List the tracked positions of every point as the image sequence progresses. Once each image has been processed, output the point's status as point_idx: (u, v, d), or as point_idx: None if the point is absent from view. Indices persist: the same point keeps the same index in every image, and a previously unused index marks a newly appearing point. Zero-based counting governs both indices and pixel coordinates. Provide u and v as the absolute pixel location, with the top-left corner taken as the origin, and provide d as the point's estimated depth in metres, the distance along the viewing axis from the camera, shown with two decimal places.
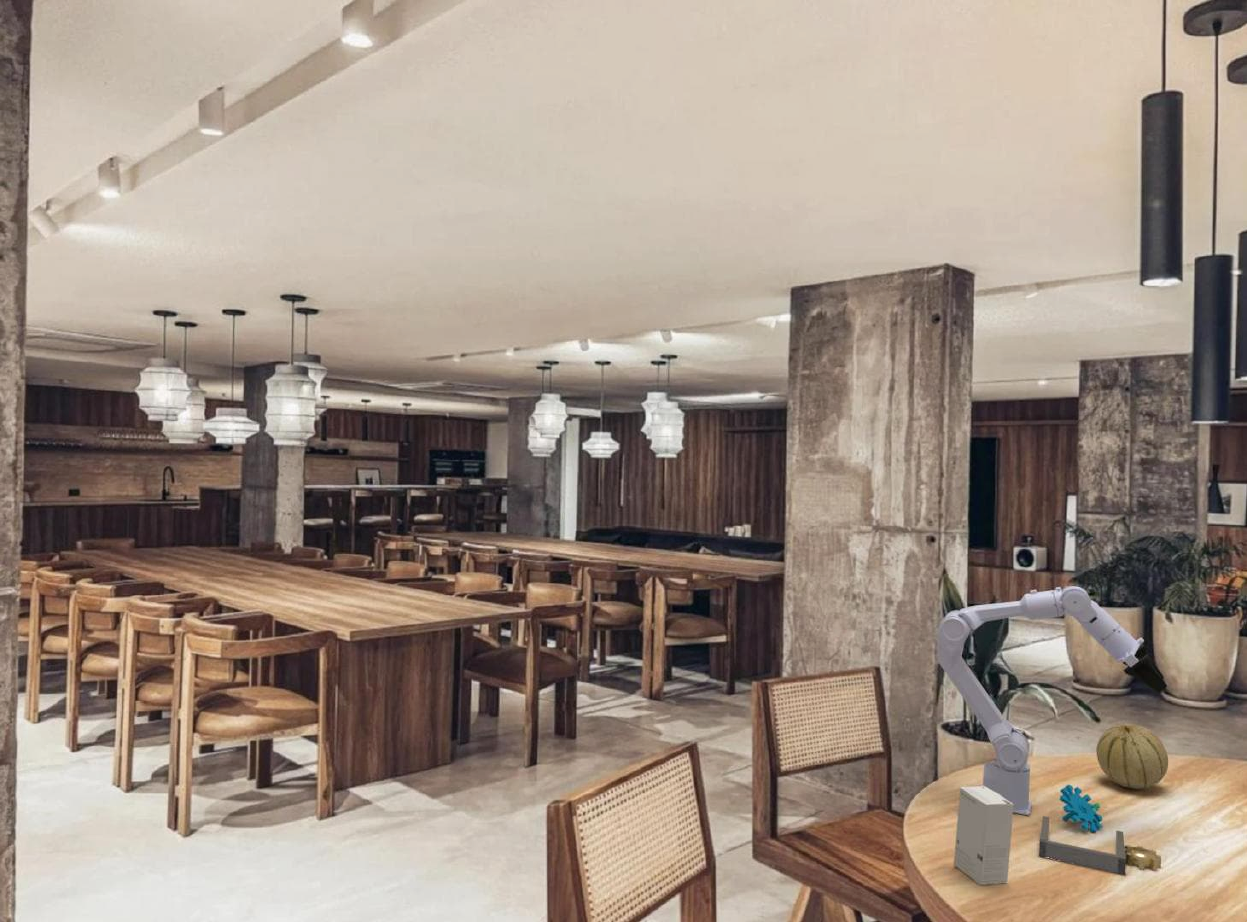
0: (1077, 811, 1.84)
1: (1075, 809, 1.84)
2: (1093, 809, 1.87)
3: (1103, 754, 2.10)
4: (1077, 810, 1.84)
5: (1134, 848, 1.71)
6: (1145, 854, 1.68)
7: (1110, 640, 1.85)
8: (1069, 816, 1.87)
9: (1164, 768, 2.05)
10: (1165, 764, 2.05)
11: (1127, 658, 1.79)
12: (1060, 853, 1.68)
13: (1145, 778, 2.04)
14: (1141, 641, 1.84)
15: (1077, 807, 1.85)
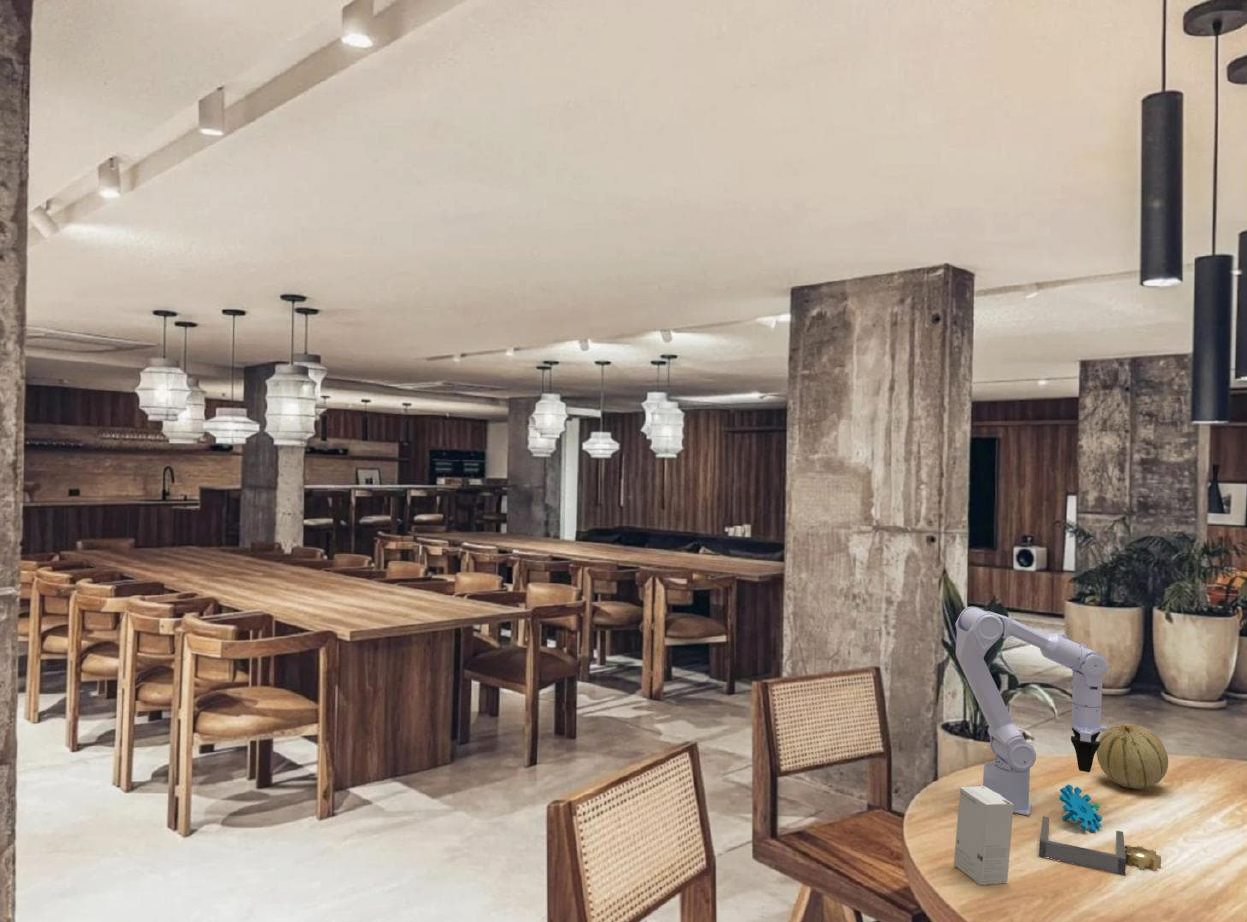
0: (1077, 811, 1.84)
1: (1074, 809, 1.84)
2: (1093, 809, 1.87)
3: (1103, 754, 2.10)
4: (1076, 810, 1.84)
5: (1134, 848, 1.71)
6: (1145, 854, 1.68)
7: (1084, 710, 1.93)
8: (1069, 816, 1.87)
9: (1164, 768, 2.05)
10: (1165, 764, 2.05)
11: (1084, 733, 1.89)
12: (1060, 853, 1.68)
13: (1145, 778, 2.04)
14: (1104, 729, 1.93)
15: (1076, 807, 1.85)
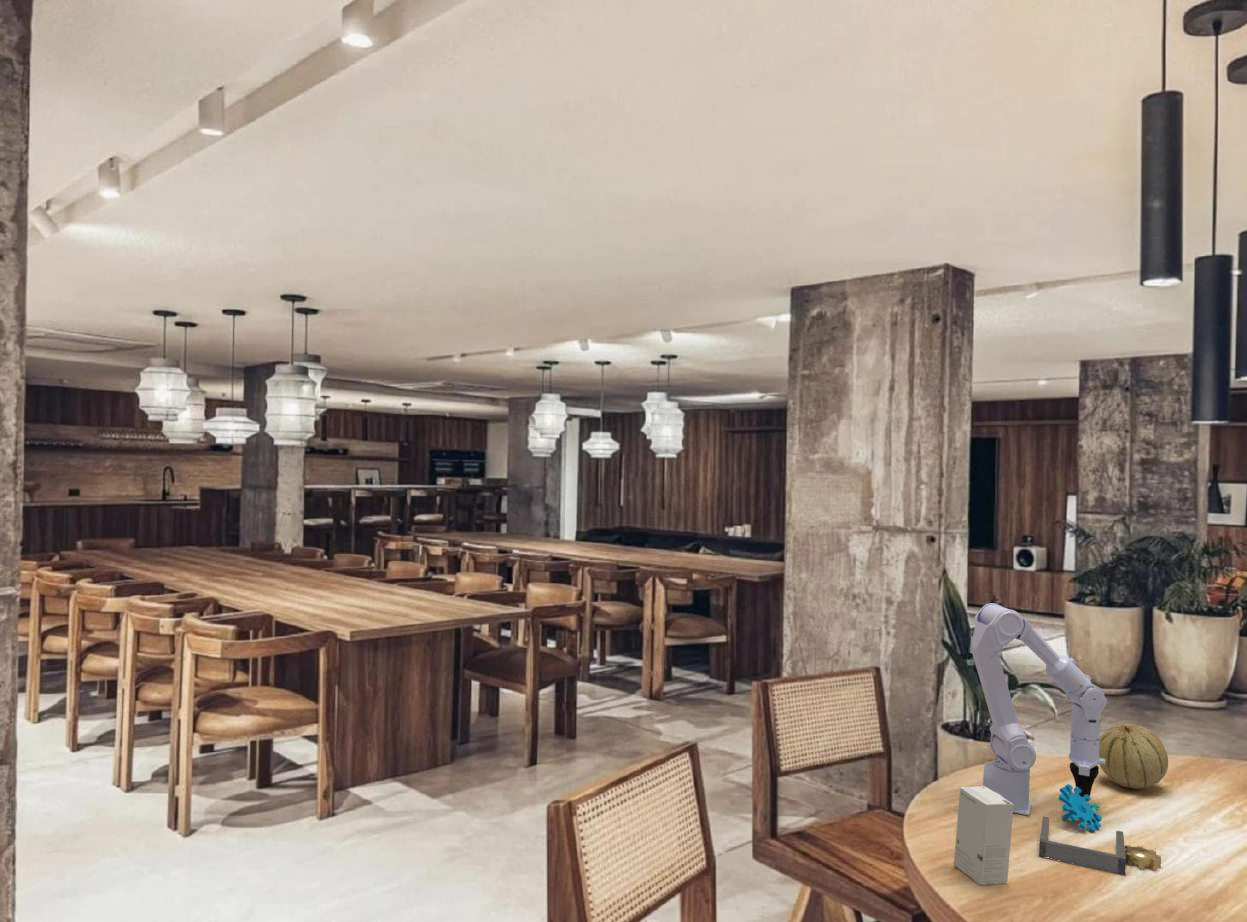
0: (1076, 811, 1.84)
1: (1074, 808, 1.84)
2: (1092, 809, 1.87)
3: (1103, 754, 2.10)
4: (1076, 809, 1.84)
5: (1134, 848, 1.71)
6: (1145, 854, 1.68)
7: (1082, 743, 1.93)
8: (1068, 815, 1.88)
9: (1164, 768, 2.05)
10: (1165, 764, 2.05)
11: (1083, 767, 1.89)
12: (1060, 853, 1.68)
13: (1145, 778, 2.04)
14: (1103, 763, 1.93)
15: (1076, 806, 1.85)
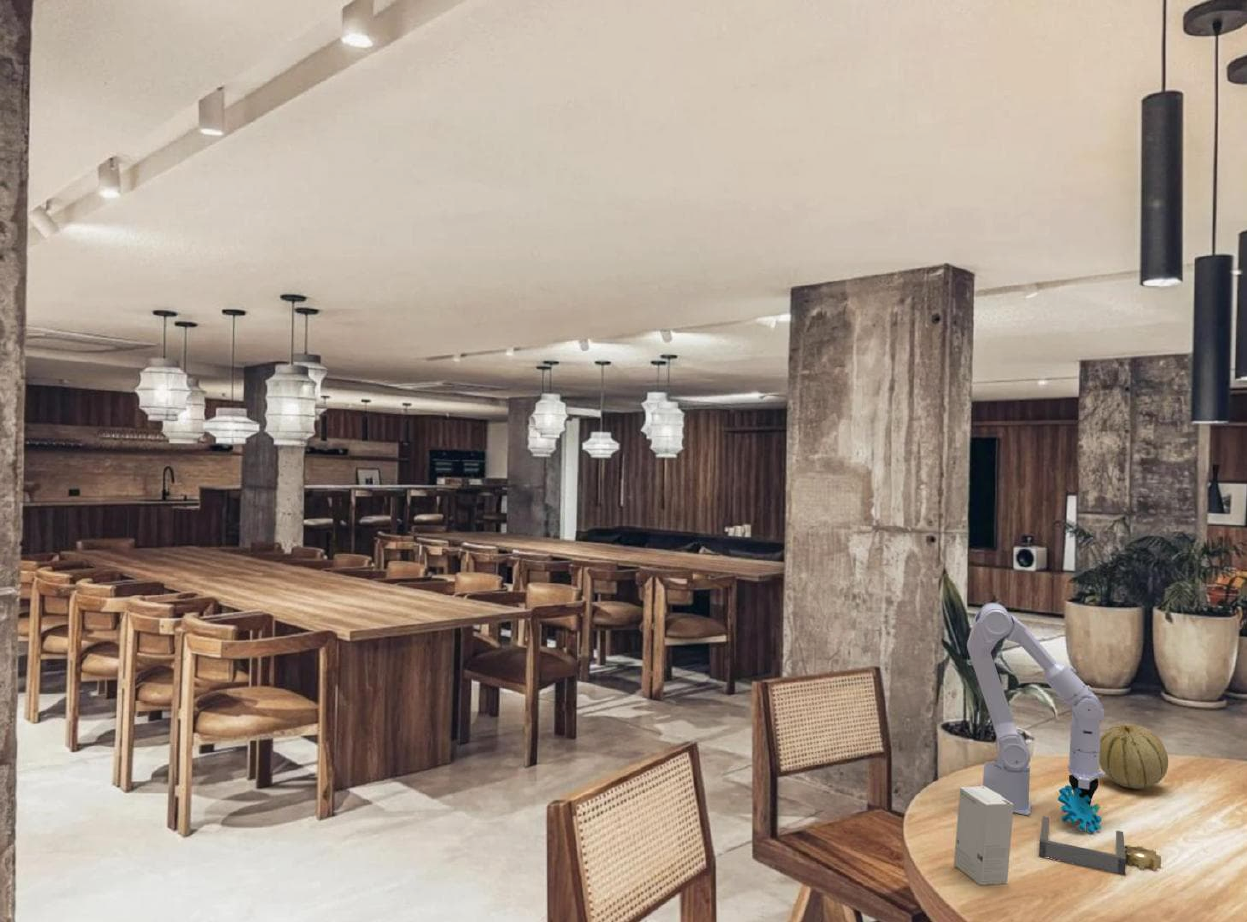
0: (1076, 812, 1.83)
1: (1073, 809, 1.84)
2: (1092, 810, 1.86)
3: (1103, 754, 2.10)
4: (1075, 810, 1.84)
5: (1134, 848, 1.71)
6: (1145, 854, 1.68)
7: (1082, 755, 1.88)
8: (1068, 816, 1.87)
9: (1164, 768, 2.05)
10: (1165, 764, 2.05)
11: (1083, 780, 1.84)
12: (1060, 853, 1.68)
13: (1145, 778, 2.04)
14: (1102, 775, 1.88)
15: (1075, 807, 1.84)
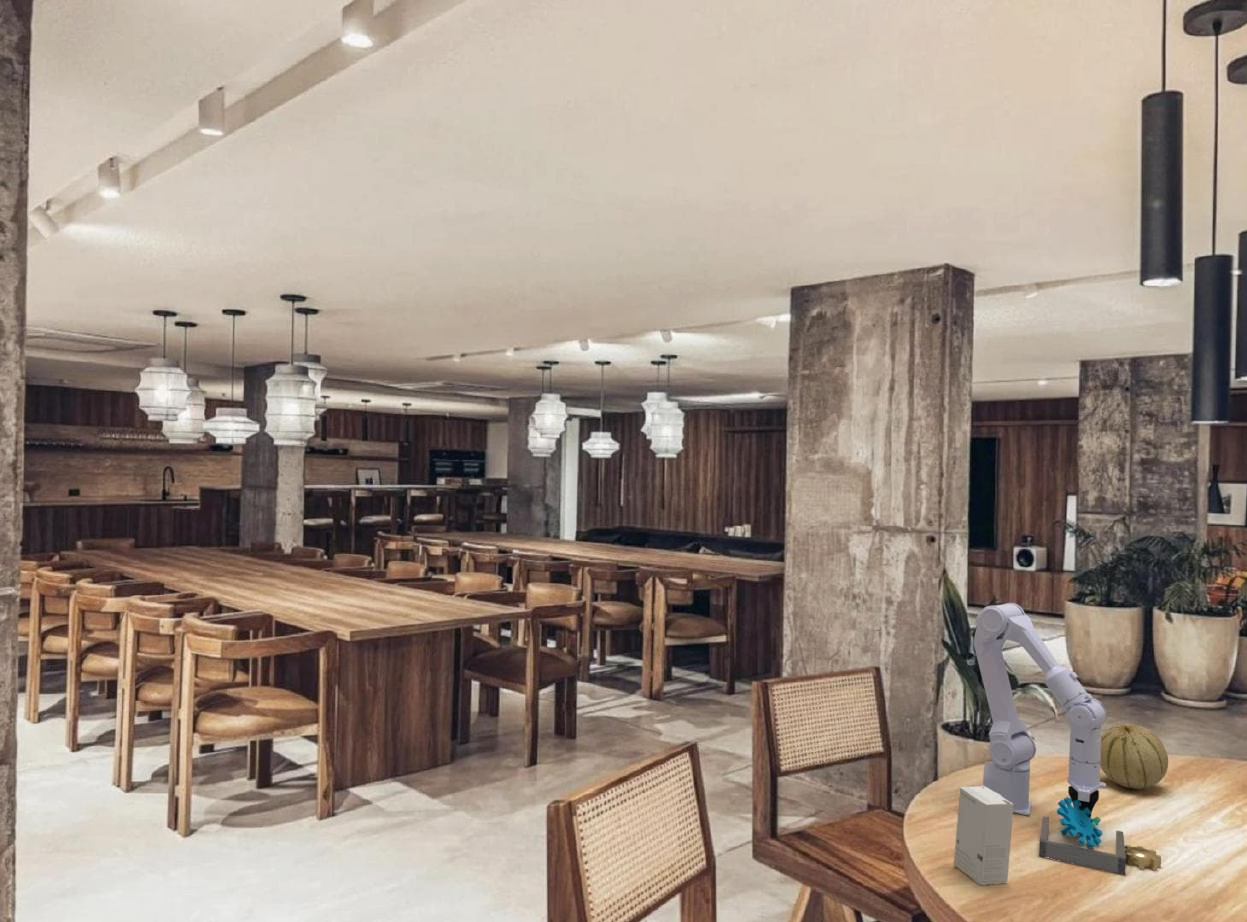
0: (1075, 825, 1.76)
1: (1072, 823, 1.76)
2: (1093, 823, 1.79)
3: (1103, 754, 2.10)
4: (1075, 824, 1.77)
5: (1134, 848, 1.71)
6: (1145, 854, 1.68)
7: (1082, 766, 1.81)
8: (1067, 830, 1.80)
9: (1164, 768, 2.05)
10: (1165, 764, 2.05)
11: (1083, 792, 1.77)
12: (1060, 853, 1.68)
13: (1145, 778, 2.04)
14: (1103, 787, 1.81)
15: (1075, 821, 1.77)
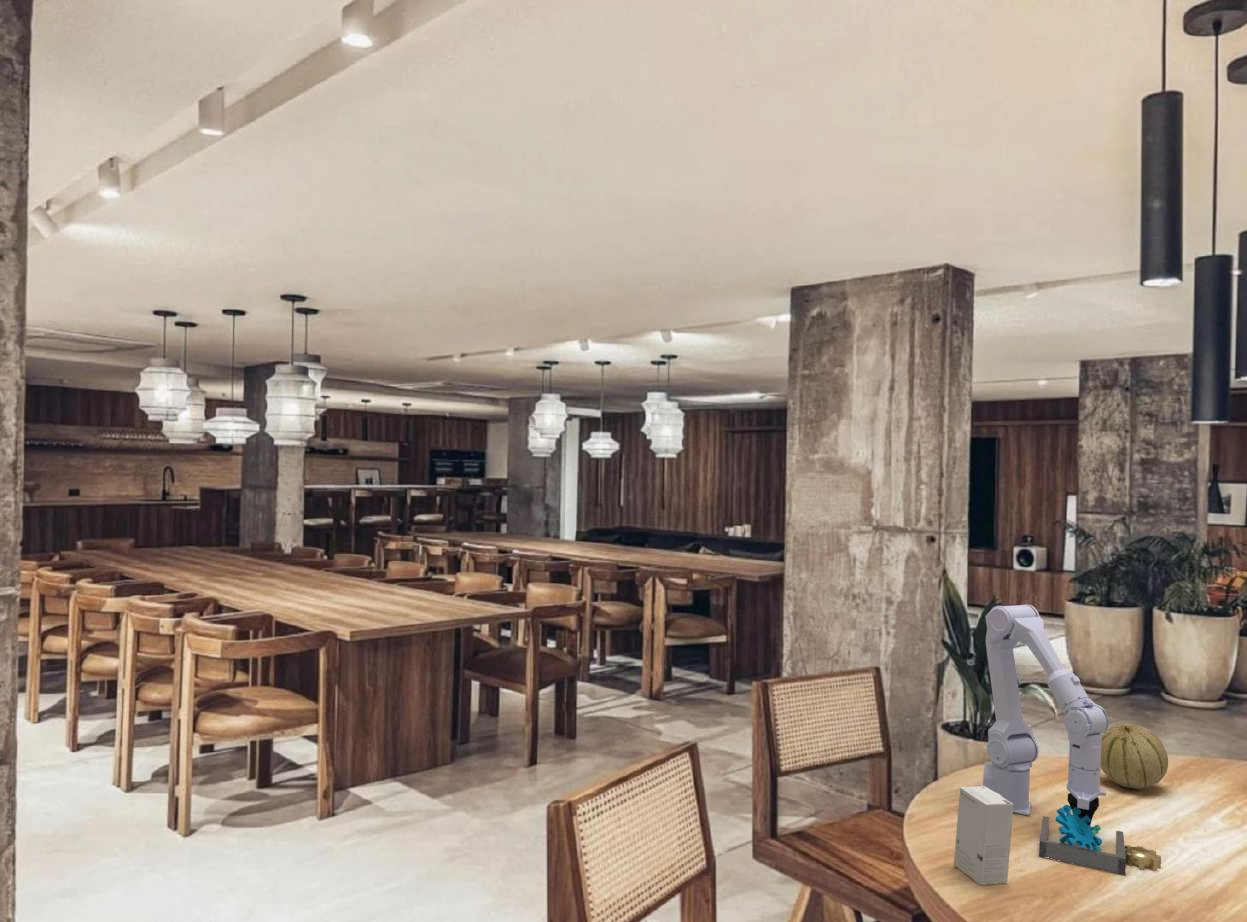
0: (1074, 833, 1.72)
1: (1072, 831, 1.72)
2: (1092, 831, 1.75)
3: (1103, 754, 2.10)
4: (1074, 832, 1.72)
5: (1134, 848, 1.71)
6: (1145, 854, 1.68)
7: (1081, 773, 1.77)
8: (1066, 838, 1.76)
9: (1164, 768, 2.05)
10: (1165, 764, 2.05)
11: (1082, 800, 1.73)
12: (1060, 853, 1.68)
13: (1145, 778, 2.04)
14: (1103, 794, 1.77)
15: (1074, 829, 1.73)
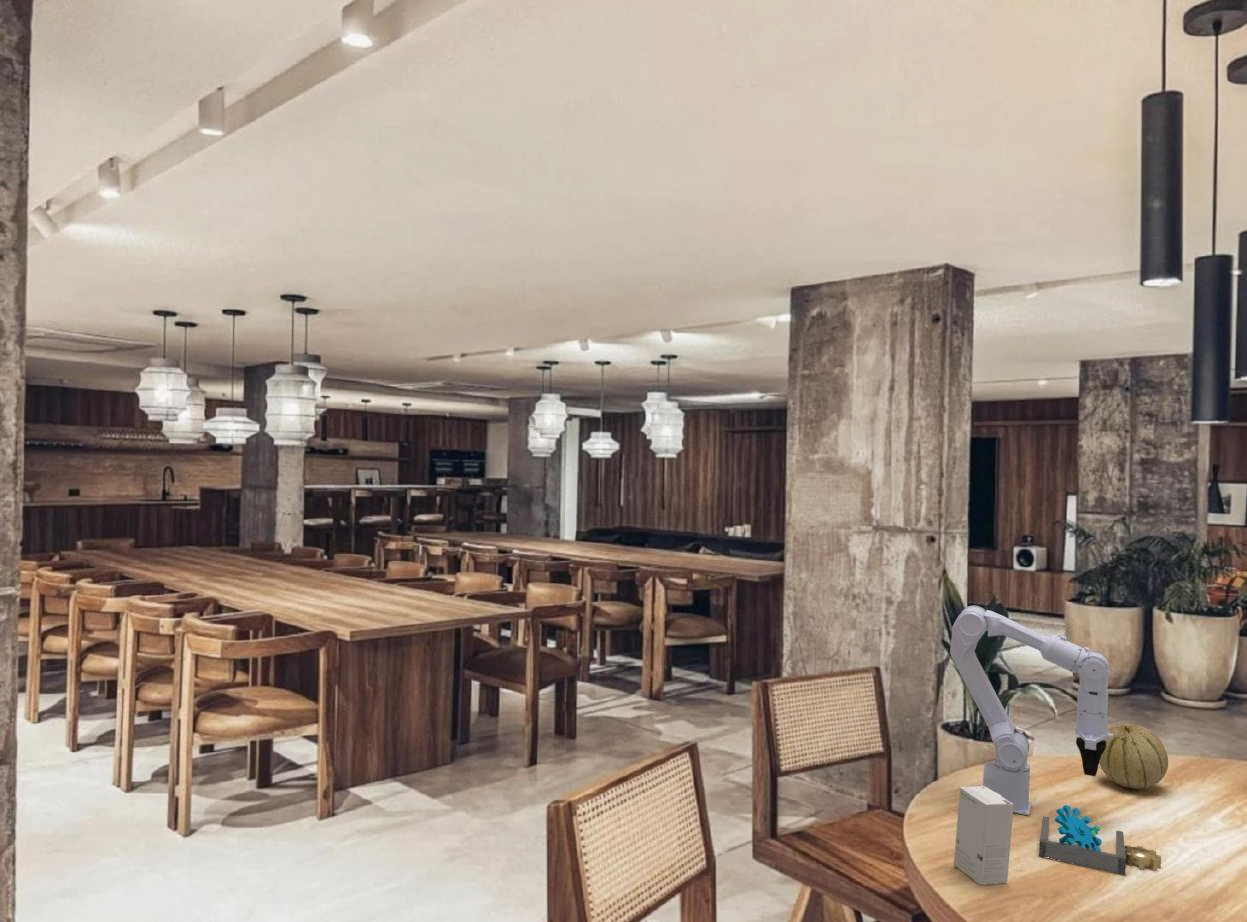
0: (1074, 834, 1.72)
1: (1071, 831, 1.73)
2: (1092, 832, 1.75)
3: (1103, 754, 2.10)
4: (1073, 832, 1.73)
5: (1134, 848, 1.71)
6: (1145, 854, 1.68)
7: (1089, 717, 1.86)
8: (1066, 838, 1.76)
9: (1164, 768, 2.05)
10: (1165, 764, 2.05)
11: (1089, 741, 1.82)
12: (1060, 853, 1.68)
13: (1145, 778, 2.04)
14: (1110, 737, 1.86)
15: (1073, 829, 1.73)
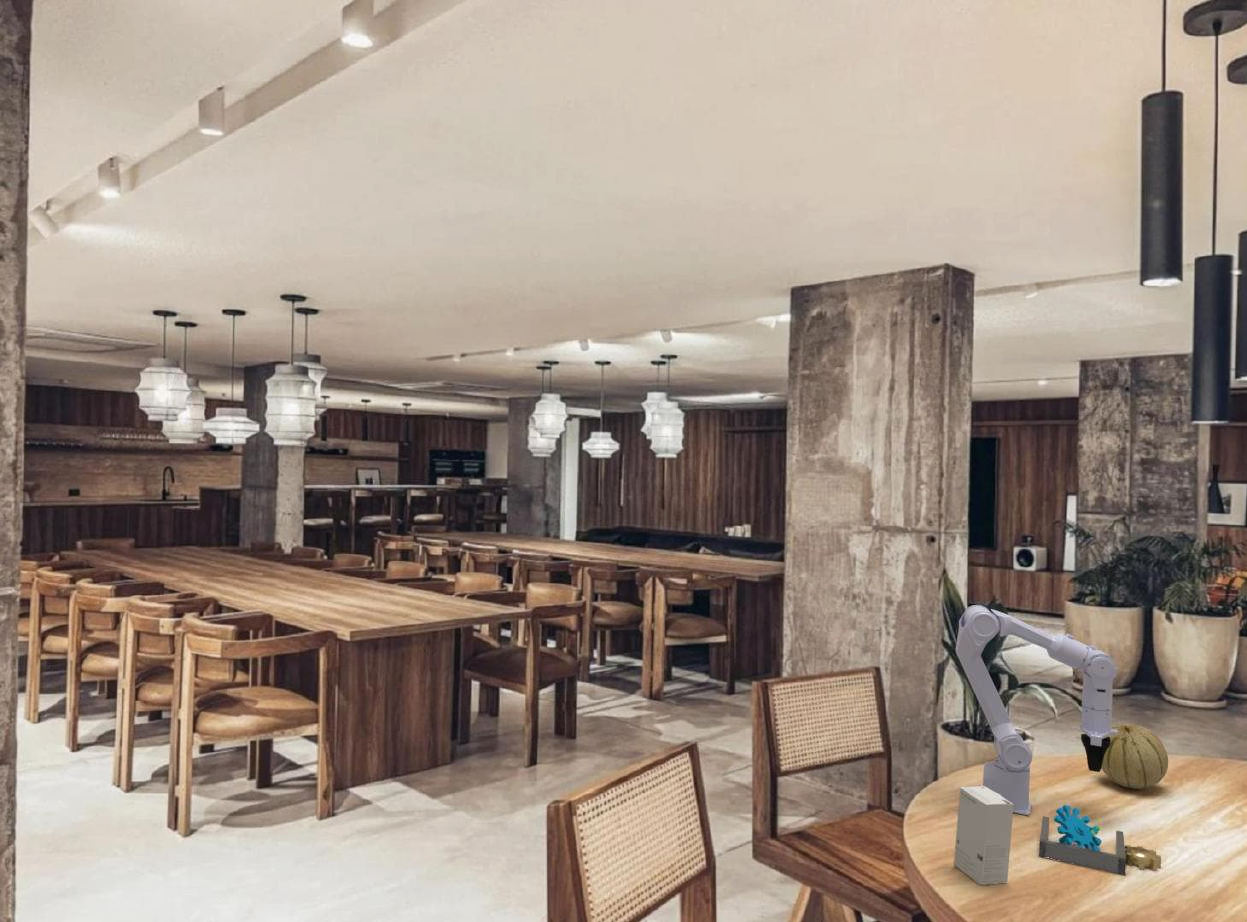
0: (1073, 833, 1.73)
1: (1070, 831, 1.73)
2: (1092, 832, 1.75)
3: None
4: (1072, 832, 1.73)
5: (1134, 848, 1.71)
6: (1145, 854, 1.68)
7: (1094, 713, 1.89)
8: (1065, 838, 1.76)
9: (1164, 768, 2.05)
10: (1165, 764, 2.05)
11: (1095, 737, 1.85)
12: (1060, 853, 1.68)
13: (1145, 778, 2.04)
14: (1115, 733, 1.89)
15: (1073, 829, 1.73)
